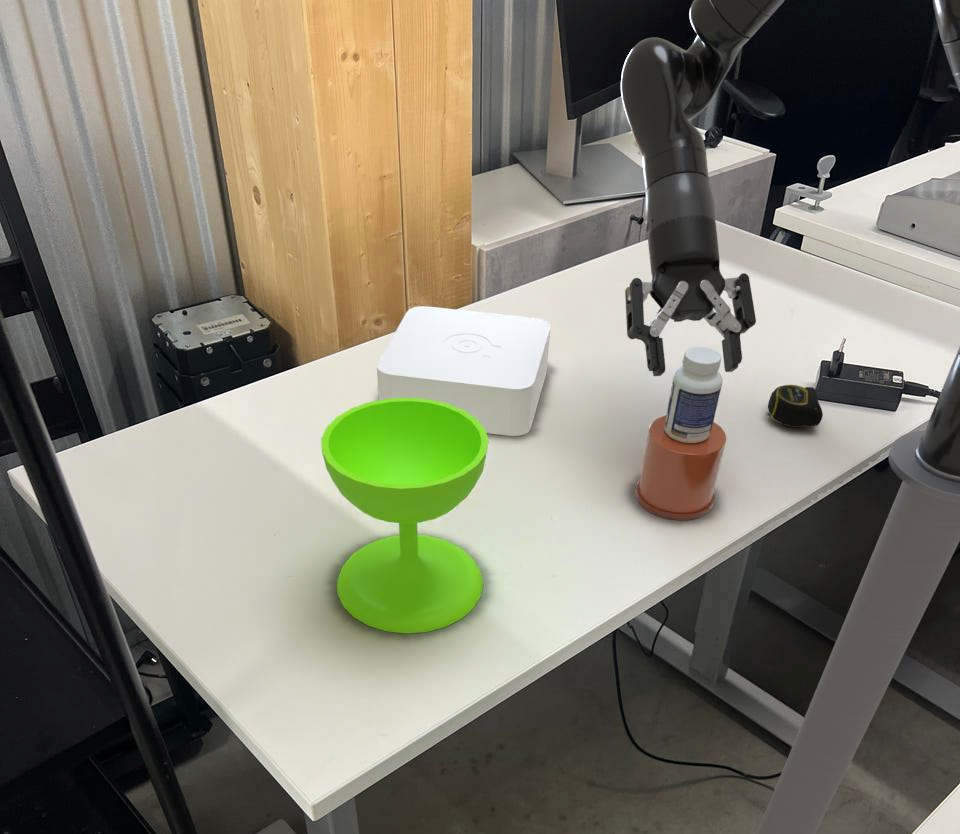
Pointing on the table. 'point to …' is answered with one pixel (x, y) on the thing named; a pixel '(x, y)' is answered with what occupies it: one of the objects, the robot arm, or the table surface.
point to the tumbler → (679, 473)
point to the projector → (469, 364)
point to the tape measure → (795, 406)
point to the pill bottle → (694, 396)
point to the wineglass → (407, 509)
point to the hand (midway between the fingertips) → (696, 372)
